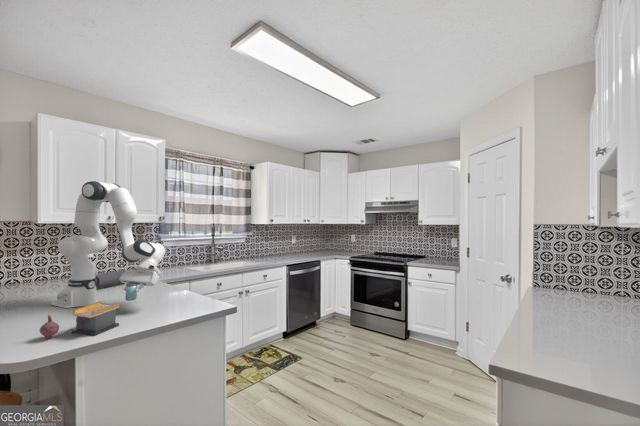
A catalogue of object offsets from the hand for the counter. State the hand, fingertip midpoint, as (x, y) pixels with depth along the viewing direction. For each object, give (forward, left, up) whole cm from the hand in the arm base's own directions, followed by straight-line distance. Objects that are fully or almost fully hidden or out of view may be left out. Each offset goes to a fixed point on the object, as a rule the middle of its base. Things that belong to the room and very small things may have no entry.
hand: (130, 290), depth 156 cm
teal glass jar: (0, +1, -5) cm, 5 cm away
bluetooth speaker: (-55, +44, -12) cm, 72 cm away
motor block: (+2, -22, -12) cm, 25 cm away
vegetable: (-6, -35, -12) cm, 37 cm away
